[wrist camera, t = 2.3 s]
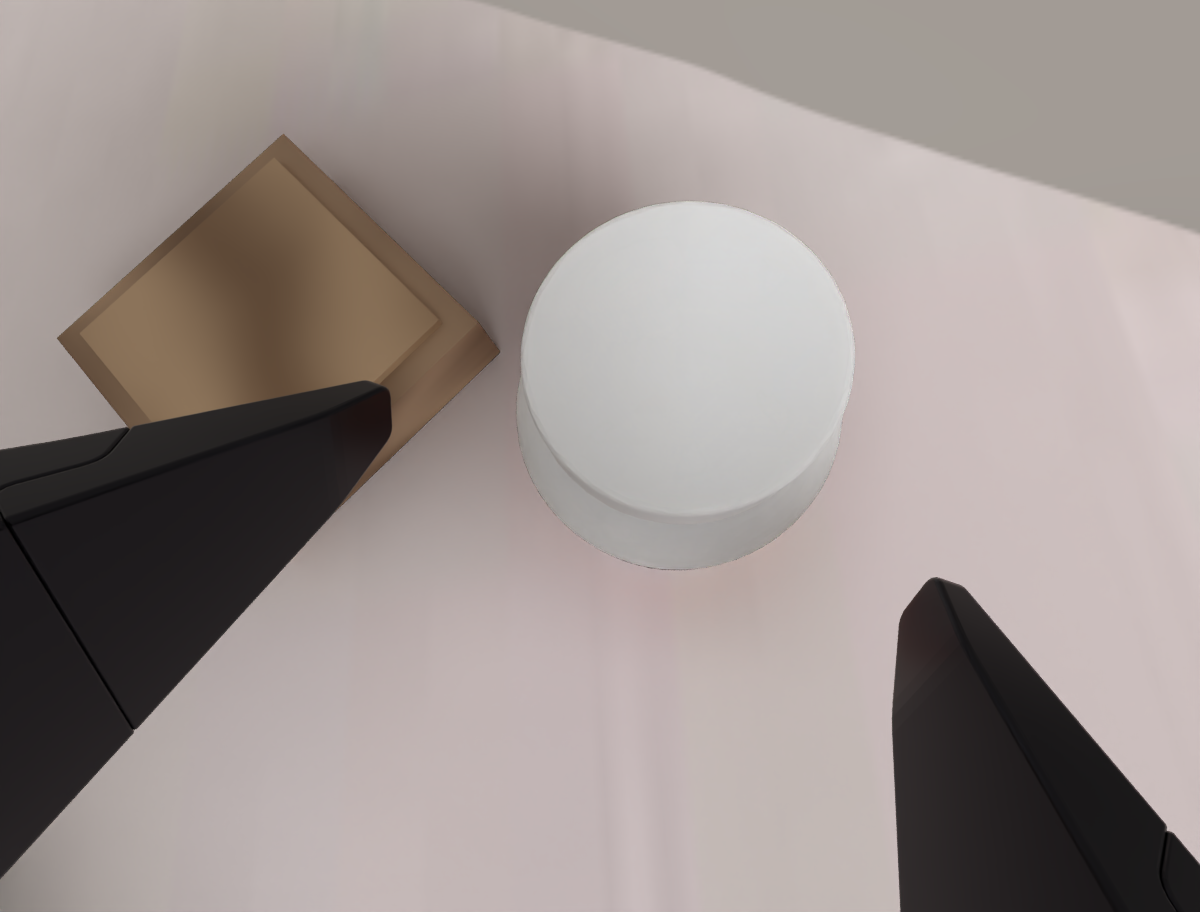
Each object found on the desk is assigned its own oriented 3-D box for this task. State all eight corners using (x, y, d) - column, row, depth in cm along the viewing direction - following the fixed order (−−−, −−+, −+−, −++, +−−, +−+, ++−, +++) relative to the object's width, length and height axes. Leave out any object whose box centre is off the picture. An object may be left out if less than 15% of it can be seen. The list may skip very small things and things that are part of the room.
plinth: (286, 558, 19) (225, 557, 17) (125, 364, 21) (47, 334, 19) (500, 352, 20) (475, 318, 17) (324, 181, 22) (277, 127, 19)
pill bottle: (533, 461, 19) (379, 327, 9) (674, 343, 20) (697, 70, 9) (657, 609, 18) (659, 675, 7) (805, 481, 18) (1019, 360, 8)
